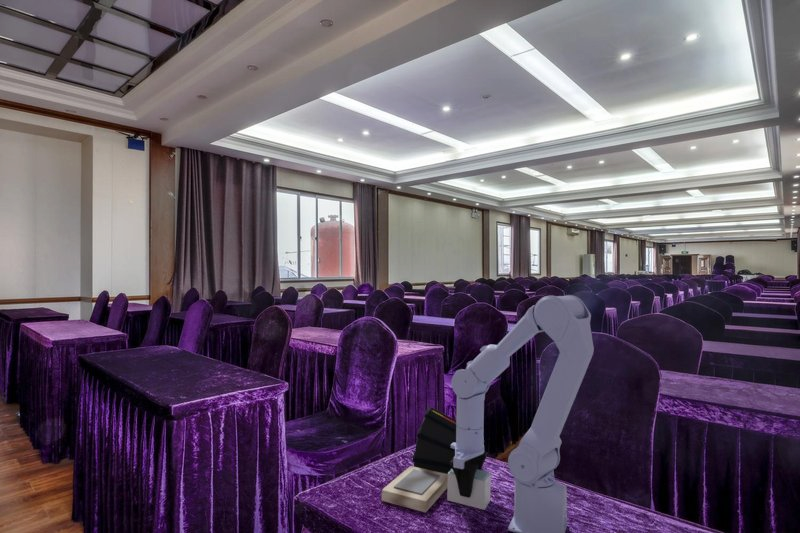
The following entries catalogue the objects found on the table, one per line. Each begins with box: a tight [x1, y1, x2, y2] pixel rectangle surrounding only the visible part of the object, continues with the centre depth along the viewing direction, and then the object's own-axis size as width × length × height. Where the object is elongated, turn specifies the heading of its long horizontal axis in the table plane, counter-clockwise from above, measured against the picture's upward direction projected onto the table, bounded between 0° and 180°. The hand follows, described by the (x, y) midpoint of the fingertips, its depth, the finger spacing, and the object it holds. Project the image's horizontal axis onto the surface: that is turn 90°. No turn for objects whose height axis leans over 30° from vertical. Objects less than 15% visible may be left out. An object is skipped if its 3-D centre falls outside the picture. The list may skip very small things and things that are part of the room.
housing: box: [446, 469, 492, 510], centre depth 94 cm, size 8×4×6 cm, turn 63°
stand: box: [381, 465, 448, 513], centre depth 97 cm, size 10×14×2 cm
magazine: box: [412, 406, 456, 474], centre depth 109 cm, size 4×13×15 cm, turn 83°
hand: (469, 491), depth 94 cm, fingers closed on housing, 4 cm apart
